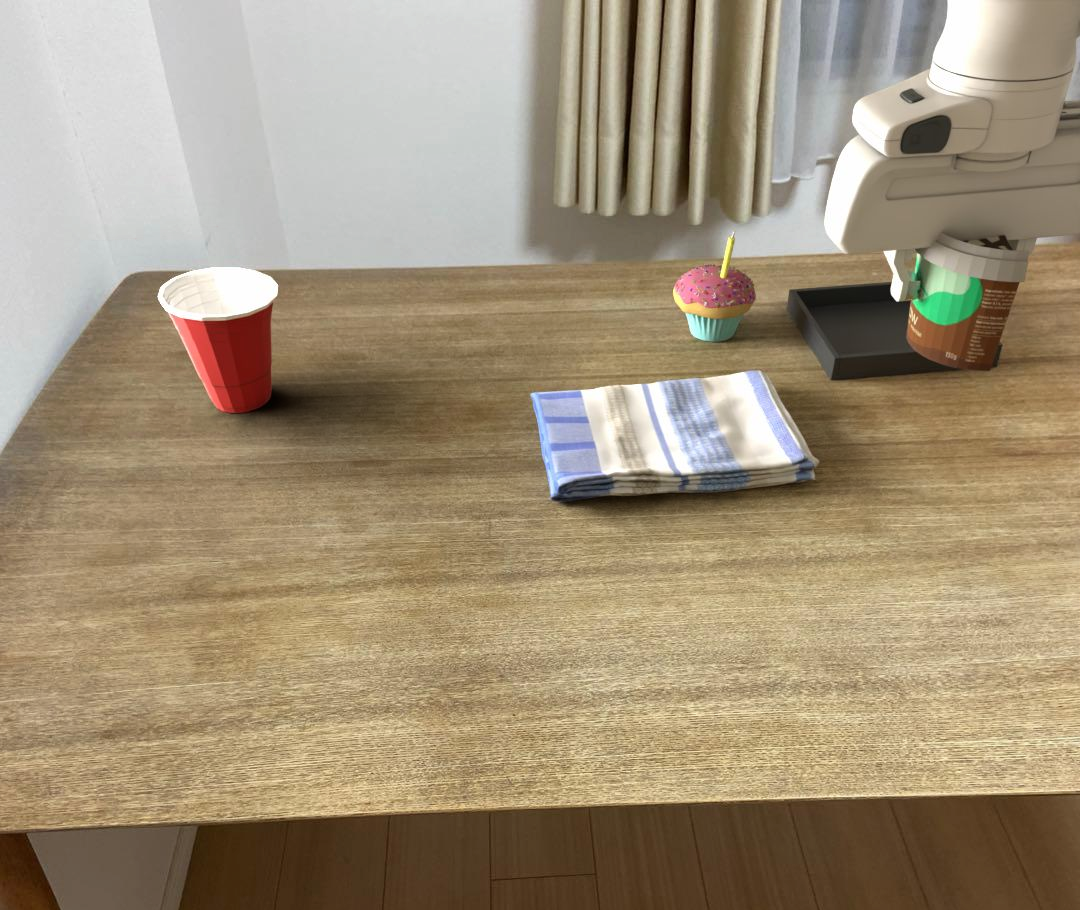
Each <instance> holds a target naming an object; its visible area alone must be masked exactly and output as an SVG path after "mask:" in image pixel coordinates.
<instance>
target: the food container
mask: <svg viewBox="0 0 1080 910" xmlns="http://www.w3.org/2000/svg"><path fill="white" fill-rule="evenodd" d="M914 252H916V260H915V267H914V273H915V274H916V275H915V276H917V277H919V278H920V280H921V285H920V289H919V290H918V291H917V292H918V298H917V299H916V300H911V305H910V312H909V320H908V328H907V340H908V343H909V344H910V346H911V347H912V348H913V349H914V350H915V351H916V352H918V353H919V354H921V355H922V356H924V357H926V358H928V359H930V360H932V361H935V362H937V363H940V364H943V365H946V366H950V367H954V368H959V369H961V370H966V371H977V372H990V371H991V368H992V367H991V365H992V363H993V360H994V357H995V354H996V351H997V348H998V345H999V342H1001V339H1002V336H1003V333H1004V330H1005V327H1006V324H1007V321H1008V318H1009V315H1010V312H1011V310H1012V306H1013V304H1014V300H1015V298H1016V295H1017V292H1018V289H1019V286H1020V283H1025V281H1026V276H1027V271H1028V267H1029V261H1028V260H1029V256H1030V255H1029V252H1030V251H1014V250H1013V249H1012V247H1011V246H1010V244H1009V242H1008V240H1007V238H1006V236H1005V235H1002V236H995V237H990V238H984V239H978V240H968V241H960V240H957V239H954V238H952V237H950V236H947V235H945V234H943V233H942V232H940V235H939V238H938V241H934V242H933V244H932V246H931V247H928V248H917V249H914Z"/></svg>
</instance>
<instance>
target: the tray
mask: <svg viewBox="0 0 1080 910" xmlns="http://www.w3.org/2000/svg"><path fill="white" fill-rule="evenodd" d="M891 285H892V281H884V282H871V283H857V284H845V285H843V284H842V285H831V286H819V287H818V286H817V287H805V288H791V289H790V288H789V290H788V296H787V302H786V308H785V309H786V312H787V313H788V315H789V316H790V318H791V320H792V322H793V323H794V324H795V326H796V328H797V329H798V330H799V332H800V334H801V335H802V337H803V338H804V340H805V342H806V344H807V345H808V347H809V348H810V349H811V352H812V353H813V354H814V356H815V357H816V359H817V361H818V362H819V363H820V366H821V367H822V368H823V370H824V371H825V373H826V375H827V376H828V379H830V381H837V380H838V381H839V380H848V379H861V378H873V377H886V376H895V375H896V376H900V375H909V374H922V373H924V374H925V373H937V372H949V371H956V370H957V371H960V370H962V369H959V368H954V367H950V366H946V365H943V364H940V363H937V362H935V361H932V360H930V359H928V358H926V357H924V356H922V355H921V354H919V353H918V352H916V351H915V350H914V349H913V348H912V347H911V346H910V344H909V343H908V340H907V328H908V320H909V312H910V305H911V300H909V301H900V302H897V301H896V300H895V299H894V298H893V296H892V295H891ZM1003 346H1004V344H1003V343H1002V342H1001V341H1000V342H999V345H998V348H997V351H996V354H995V357H994V360H993V363H992V365H991V368H997V366H998V362H999V359H1000V357H1001V354H1002V350H1003Z"/></svg>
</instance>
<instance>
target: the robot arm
mask: <svg viewBox="0 0 1080 910" xmlns="http://www.w3.org/2000/svg"><path fill="white" fill-rule="evenodd" d="M946 1H947V12H946V20H945V25H944V27H943V30H942V33H941V35H940V37H939V39H938V41H937V43H936V45H935V48H934V50H933V54H932V60H931V64H930V68H928V69H926V70H924V71H922V72H920V73H918V74H915V75H914V76H911V77H909V78H907V79H904V80H902V81H900V82H897V83H895V84H893V85H889V86H888V87H885V88H883V89H880V90H878V91H875V92H872V93H870V94H867V95H864V96H863V97H861V98H860V99H858V100H857V101H856V102H855V104H854V107H853V110H852V115H851V116H852V117H851V118H852V120H851V121H852V125H853V127H854V129H855V130H856V132H857V133H858V135H856V136H854V137H853V138H851V139H850V140H849V141H848V142H847V143H846V145H845V146H844V147H843V149H842V150H841V152H840V155H839V156H838V160H837V161H836V164H835V169H834V172H833V175H832V179H831V184H830V187H829V191H828V197H827V202H826V206H825V213H824V221H823V224H824V229H825V232H826V235H827V236H828V238H829V239H830V240H831V242H832V243H833V244H834V245H835V246H836V247H837V248H838V249H839V251H841V252H842V253H843V254H845V255H857V254H871V253H881V252H883V253H884V256H885V259H886V261H887V262H888V265H889V267H890V269H891V272H892V273H893V274H892V281H891V282H892V285H891V295H892V296H893V298H894V299H895V300H896V301H897V302H900V301H909V300H916V299H917V298H918V292H917V291H918V290H919V289H920V285H921V280H920V278H919V277H917V276H915V275H916V274H915V271H914V270H908V269H907V266H906V263H905V262H911V261H912V260H913V257H914V253H915V249H917V248H928V247H931V246H932V244H933V242H934V241H938V238H939V235H940V232H942V233H943V234H945V235H947V236H950V237H952V238H954V239H957V240H960V241H968V240H978V239H984V238H990V237H995V236H1002V235H1005V236H1006V238H1007V240H1008V242H1009V244H1010V246H1011V247H1012V249H1013V250H1014V251H1030V252H1029V256H1030V255H1031V254H1032V253H1033V251H1034V250H1035V246H1036V243H1037V240H1038V239H1041V238H1042V239H1043V238H1054V237H1055V238H1056V237H1064V236H1065V237H1066V236H1076V235H1077V236H1078V235H1080V100H1078V99H1077V100H1075V99H1074V100H1066V98H1067V94H1068V91H1069V88H1070V84H1071V80H1072V77H1073V73H1074V71H1075V70H1074V69H1075V66H1076V62H1077V39H1078V38H1079V37H1080V0H946Z"/></svg>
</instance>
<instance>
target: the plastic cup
mask: <svg viewBox="0 0 1080 910" xmlns="http://www.w3.org/2000/svg"><path fill="white" fill-rule="evenodd" d="M278 291H279V284H277V282H276V280H274V279H273V277H271V276H270V275H267V274H265V273H262V272H260V271H258V270H254V269H249V268H243V267H242V268H241V267H236V266H235V267H231V266H230V267H229V266H228V267H226V266H225V267H208V268H203V269H197V270H192V271H189V272H188V271H187V272H186V273H183V274H180V275H177V276H175V277H172V278H171V279H170V280H168V281H167V282H165V283H164V284H163V285H161V287H160V288H159V290H158V295H157V298H158V301H159V302H160V304H161V306H162V307H163V308H164V310H165V311H166V312H167V313H168V315H169V318H170V319H171V320H172V323H173V326H174V328H175V329H176V330H177V332H178V334H179V337H180V339H181V341H182V343H183V345H184V347H185V349H186V352H187V354H188V356H189V358H190V361H191V362H192V364H193V367H194V369H195V371H196V373H197V375H198V377H199V379H200V380H201V381H202V384H203V386H204V388H205V390H206V392H207V395H208V396H209V398H210V400H211V402H212V403H213V405H214V406H215V407H216V409H217V410H220V411H222V412H224V413H233V414H240V413H247V412H251V411H254V410H258V409H259V408H261V407H262V406H264V405H265V404H267V403H268V401H270V399H271V397H272V396H271V395H272V389H273V381H272V379H273V378H272V363H273V360H272V357H273V356H272V354H273V352H272V315H273V307H274V303H275V301H276V300H277V297H278Z"/></svg>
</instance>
